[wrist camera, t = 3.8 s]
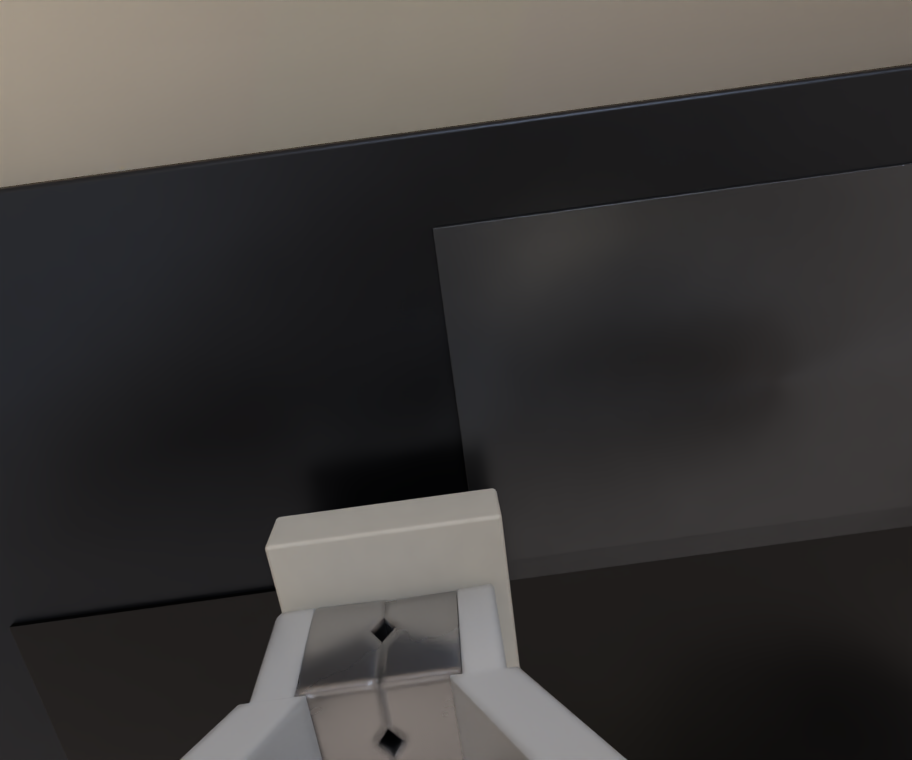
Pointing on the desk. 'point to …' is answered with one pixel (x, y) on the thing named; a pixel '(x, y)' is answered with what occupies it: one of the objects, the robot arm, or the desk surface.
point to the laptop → (481, 413)
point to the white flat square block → (394, 554)
